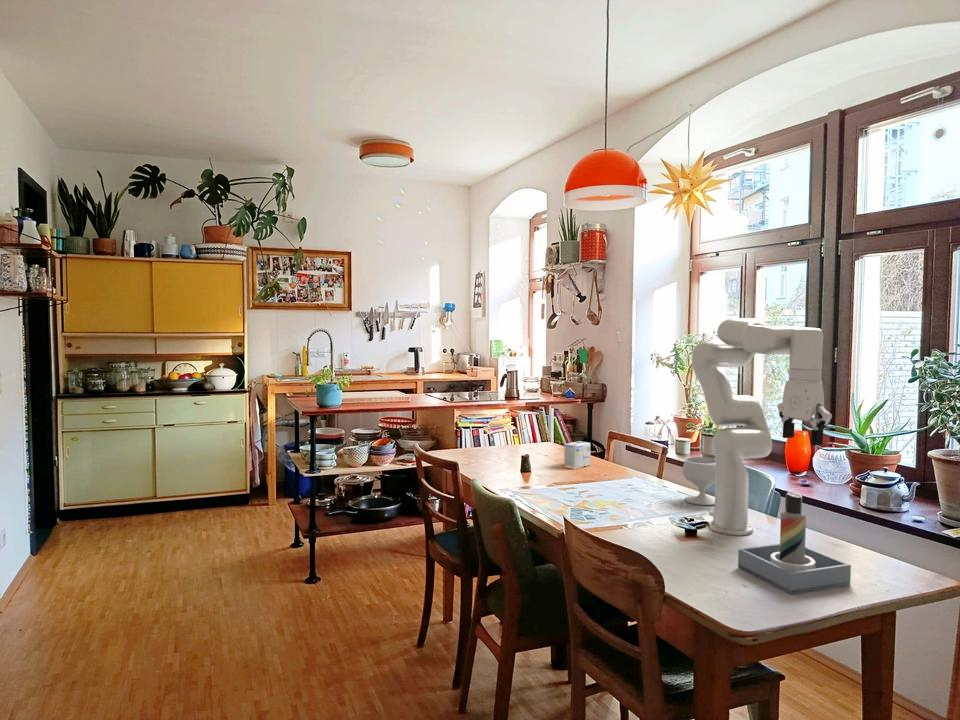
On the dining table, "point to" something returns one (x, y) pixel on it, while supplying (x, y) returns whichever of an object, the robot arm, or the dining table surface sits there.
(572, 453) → the light bulb box
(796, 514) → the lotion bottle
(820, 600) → the dining table surface
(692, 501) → the chalice
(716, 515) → the robot arm
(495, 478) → the dining table surface
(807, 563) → the socket box
